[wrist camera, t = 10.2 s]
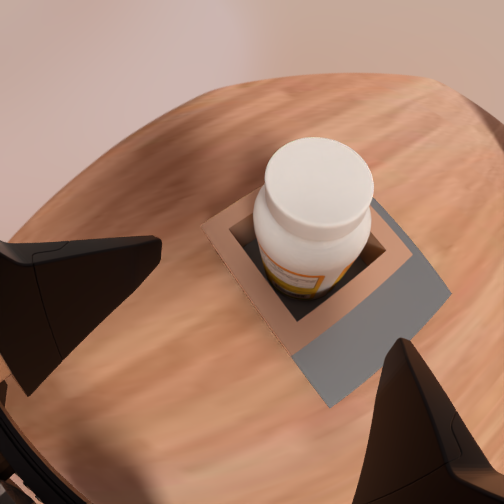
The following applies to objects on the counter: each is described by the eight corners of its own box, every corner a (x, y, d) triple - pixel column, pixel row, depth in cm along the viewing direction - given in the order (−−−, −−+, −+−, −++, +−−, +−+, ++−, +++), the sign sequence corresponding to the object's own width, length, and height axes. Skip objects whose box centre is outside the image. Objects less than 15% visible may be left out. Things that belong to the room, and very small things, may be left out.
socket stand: (445, 296, 17) (478, 281, 13) (327, 405, 16) (340, 421, 11) (334, 168, 22) (342, 131, 18) (213, 247, 20) (196, 219, 16)
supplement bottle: (324, 216, 19) (349, 114, 10) (354, 285, 17) (418, 219, 8) (253, 239, 19) (227, 143, 10) (277, 313, 17) (272, 270, 8)
